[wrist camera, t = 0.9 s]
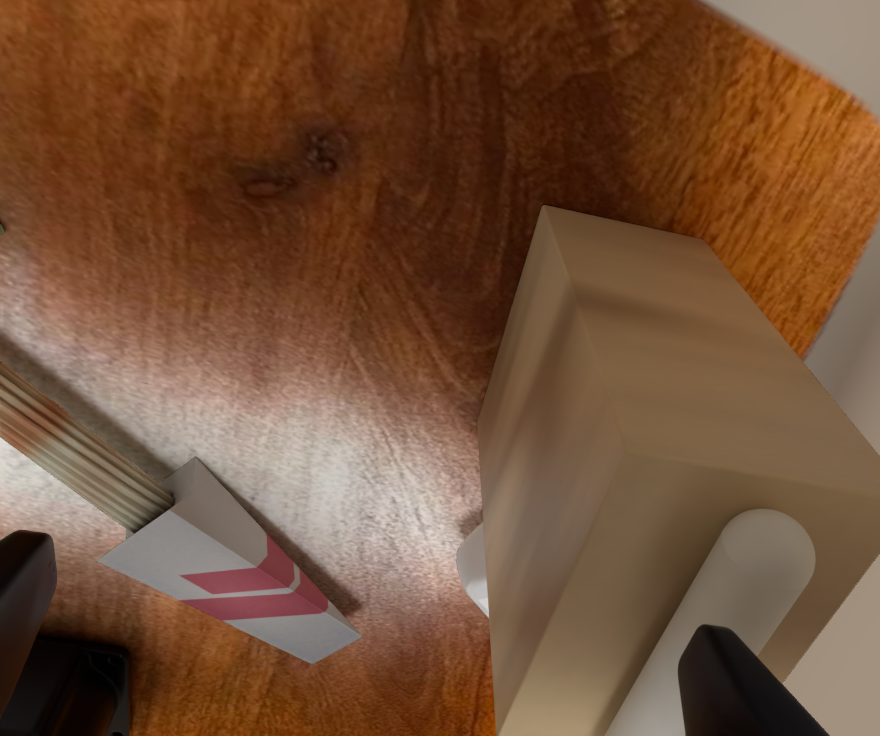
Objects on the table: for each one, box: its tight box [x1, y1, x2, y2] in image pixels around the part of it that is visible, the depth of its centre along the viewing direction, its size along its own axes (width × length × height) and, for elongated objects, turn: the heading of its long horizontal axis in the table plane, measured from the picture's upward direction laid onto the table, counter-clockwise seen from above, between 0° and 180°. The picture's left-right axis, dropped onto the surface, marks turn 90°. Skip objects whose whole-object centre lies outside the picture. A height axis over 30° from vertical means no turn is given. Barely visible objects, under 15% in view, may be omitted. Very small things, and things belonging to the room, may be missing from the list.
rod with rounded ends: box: [604, 509, 816, 736], centre depth 13 cm, size 7×1×1 cm, turn 168°
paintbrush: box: [0, 361, 363, 664], centre depth 25 cm, size 4×3×20 cm
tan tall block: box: [477, 205, 880, 736], centre depth 18 cm, size 8×5×12 cm, turn 168°
